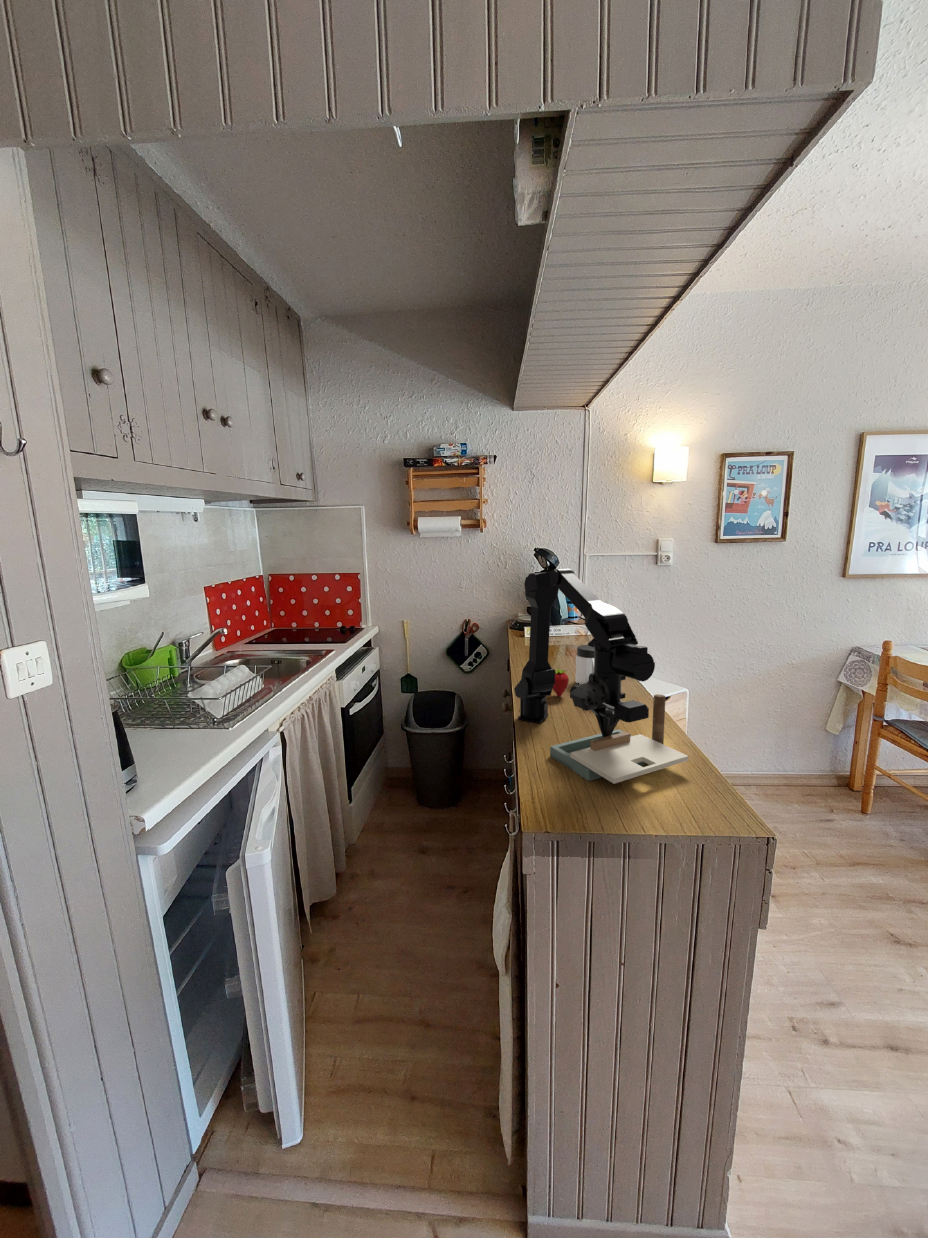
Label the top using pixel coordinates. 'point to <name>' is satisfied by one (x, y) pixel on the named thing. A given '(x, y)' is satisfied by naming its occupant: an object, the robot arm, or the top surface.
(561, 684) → the strawberry
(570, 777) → the top surface
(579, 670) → the jar
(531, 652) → the robot arm
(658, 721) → the brown wooden peg
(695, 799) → the top surface
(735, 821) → the top surface
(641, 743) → the lid
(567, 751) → the teal box base
